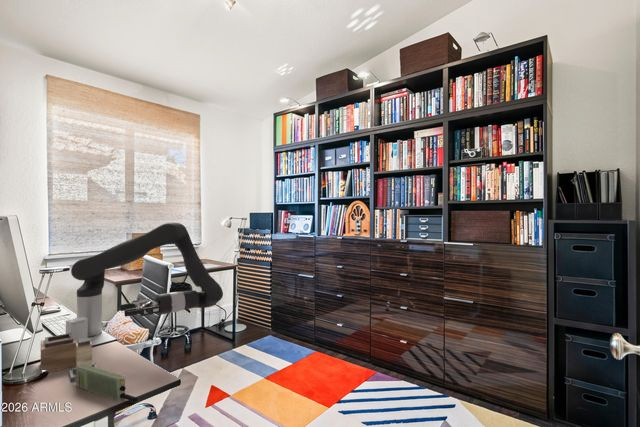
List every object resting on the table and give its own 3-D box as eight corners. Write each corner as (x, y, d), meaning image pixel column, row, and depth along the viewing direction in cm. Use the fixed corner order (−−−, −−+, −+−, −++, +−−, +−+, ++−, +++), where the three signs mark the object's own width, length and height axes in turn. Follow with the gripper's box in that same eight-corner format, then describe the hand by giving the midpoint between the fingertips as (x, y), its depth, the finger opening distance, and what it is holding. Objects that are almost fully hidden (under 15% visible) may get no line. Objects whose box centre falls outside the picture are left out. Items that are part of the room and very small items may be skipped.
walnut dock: (40, 363, 122) (40, 337, 122) (75, 355, 129) (75, 331, 129) (41, 373, 115) (41, 346, 115) (77, 365, 121) (77, 339, 121)
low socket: (69, 373, 115) (69, 369, 115) (95, 366, 120) (96, 363, 120) (70, 381, 109) (70, 378, 109) (99, 374, 114) (99, 371, 114)
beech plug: (76, 373, 115) (76, 339, 115) (90, 370, 118) (90, 337, 118) (77, 378, 112) (77, 343, 112) (92, 374, 115) (91, 340, 114)
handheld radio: (85, 382, 109) (141, 401, 99) (74, 388, 106) (130, 407, 96) (85, 362, 109) (140, 378, 99) (73, 366, 106) (129, 384, 96)
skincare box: (70, 354, 130) (70, 322, 130) (65, 351, 133) (65, 320, 132) (88, 348, 136) (88, 318, 136) (82, 346, 138) (82, 316, 138)
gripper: (164, 289, 138) (118, 296, 127) (176, 296, 127) (126, 304, 116) (164, 308, 138) (118, 316, 127) (176, 316, 127) (126, 326, 116)
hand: (122, 310), depth 122 cm, fingers open, 8 cm apart
